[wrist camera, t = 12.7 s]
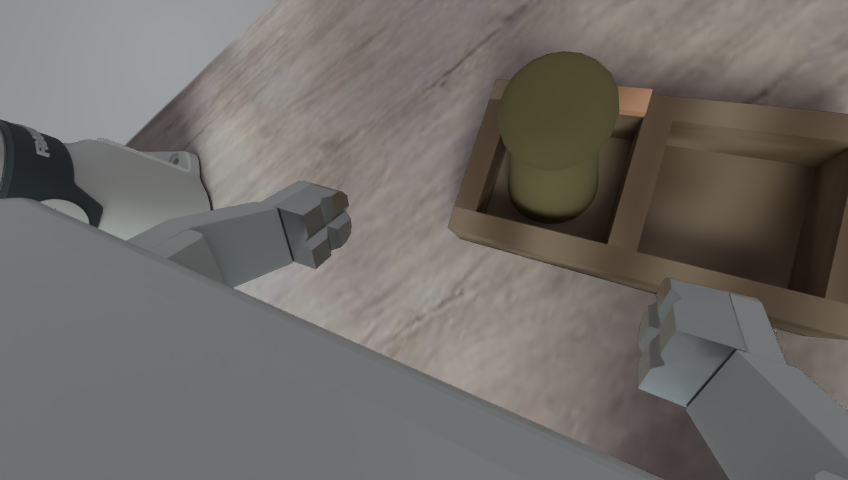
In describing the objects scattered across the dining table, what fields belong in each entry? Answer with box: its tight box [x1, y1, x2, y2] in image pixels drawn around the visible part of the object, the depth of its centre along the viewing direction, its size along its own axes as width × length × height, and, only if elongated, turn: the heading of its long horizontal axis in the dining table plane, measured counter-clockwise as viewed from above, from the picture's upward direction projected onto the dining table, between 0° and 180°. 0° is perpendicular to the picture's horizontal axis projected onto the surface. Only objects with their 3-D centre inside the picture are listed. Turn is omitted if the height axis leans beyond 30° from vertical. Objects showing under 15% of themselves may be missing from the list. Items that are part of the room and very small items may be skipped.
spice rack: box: [448, 79, 848, 340], centre depth 22 cm, size 20×11×4 cm, turn 71°
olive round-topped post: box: [498, 51, 619, 224], centre depth 20 cm, size 6×6×11 cm
